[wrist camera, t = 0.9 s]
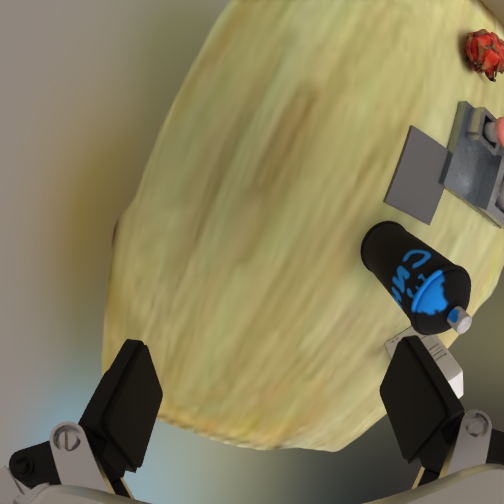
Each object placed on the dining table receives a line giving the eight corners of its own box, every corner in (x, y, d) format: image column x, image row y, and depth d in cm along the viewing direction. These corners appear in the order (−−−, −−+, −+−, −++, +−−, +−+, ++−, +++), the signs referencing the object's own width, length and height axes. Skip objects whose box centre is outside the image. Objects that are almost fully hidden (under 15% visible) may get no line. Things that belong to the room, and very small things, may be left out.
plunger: (483, 110, 24) (503, 110, 20) (500, 127, 24) (519, 129, 20) (478, 136, 25) (498, 138, 21) (494, 152, 26) (514, 155, 22)
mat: (410, 125, 30) (412, 125, 30) (452, 154, 31) (454, 155, 31) (383, 201, 35) (385, 202, 34) (427, 224, 35) (429, 225, 35)
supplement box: (431, 345, 44) (464, 395, 30) (394, 368, 46) (421, 423, 32) (423, 316, 42) (464, 370, 28) (383, 342, 43) (414, 403, 29)
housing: (458, 102, 28) (478, 100, 23) (514, 157, 30) (532, 161, 25) (436, 182, 33) (455, 187, 28) (494, 225, 35) (511, 234, 30)
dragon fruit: (482, 46, 24) (456, 74, 29) (473, 12, 18) (445, 38, 23) (518, 67, 19) (493, 98, 24) (514, 31, 13) (489, 60, 18)
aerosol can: (416, 232, 36) (504, 296, 17) (393, 279, 39) (461, 363, 20) (375, 212, 35) (465, 274, 16) (351, 263, 38) (413, 356, 19)
